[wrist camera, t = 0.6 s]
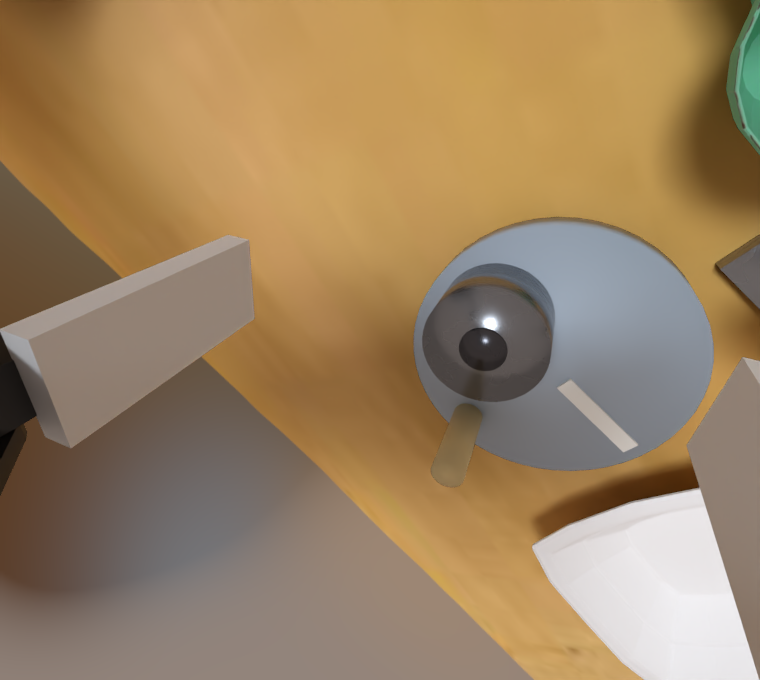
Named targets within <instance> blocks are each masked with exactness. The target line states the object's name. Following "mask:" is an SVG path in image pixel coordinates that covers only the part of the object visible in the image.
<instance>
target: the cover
mask: <svg viewBox="0 0 760 680" xmlns="http://www.w3.org/2000/svg"><path fill="white" fill-rule="evenodd" d="M554 324H555V310H554V305H553V302H552V299H551V297H550V295H549V293H548V291H547V290H546V288H545V287H544V285H543V284H542V283H541V282H540V281H539V280H538V279H537V278H536V277H534V276H533V275H532V274H530V273H529V272H527V271H525V270H523V269H521V268H518V267H515V266H512V265H508V264H501V263H489V264H483V265H479V266H476V267H473V268H471V269H468V270H466V271H465V272H463V273H462V274H460V275H459V276H458V277H457V278H456V279H455V280H454V281H453V282H452V283H451V284H450V286H449V287H448V289H447V290H446V292H445V293H444V295H443V296H442V297H441V299H440V300H439V302H438V303H437V305H436V306H435V308H434V309H433V311H432V312H431V313H430V315H429V316H428V318H427V320H426V323H425V326H424V329H423V335H422V346H423V352H424V356H425V359H426V361H427V363H428V365H429V367H430V369H431V370H432V372H433V373H434V374H435V376H436V377H437V378H438V379H439V380H440V381H441V382H442V383H443V384H444V385H446V386H447V387H448V388H450V389H451V390H453V391H454V392H456V393H458V394H460V395H462V396H465V397H467V398H470V399H473V400H478V401H483V402H501V401H508V400H512V399H515V398H517V397H520V396H522V395H524V394H526V393H528V392H529V391H530V390H532V389H533V388H534V387H535V386H536V385H537V384H538V383H539V382H540V381H541V380H542V378H543V377H544V375H545V373H546V372H547V370H548V367H549V364H550V358H551V351H552V342H553V333H554Z"/></svg>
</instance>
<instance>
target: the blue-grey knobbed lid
mask: <svg viewBox="0 0 760 680" xmlns="http://www.w3.org/2000/svg"><path fill="white" fill-rule="evenodd" d="M489 263H501V264H508V265H512V266H515V267H518V268H521V269H523V270H525V271H527V272H529V273H530V274H532V275H533V276H534V277H536V278H537V279H538V280H539V281H540V282H541V283H542V284H543V285H544V287H545V288H546V290H547V291H548V293H549V295H550V297H551V299H552V302H553V305H554V310H555V324H554V333H553V342H552V351H551V358H550V364H549V367H548V370H547V372H546V373H545V375H544V377H543V378H542V380H541V381H540V382H539V383H538V384H537V385H536V386H535V387H534V388H533V389H532V390H530V391H529V392H528V393H526V394H524V395H522V396H520V397H517V398H515V399H512V400H508V401H501V402H483V401H478V400H473V399H470V398H467V397H465V396H462V395H460V394H458V393H456V392H454V391H453V390H451V389H450V388H448V387H447V386H446V385H444V384H443V383H442V382H441V381H440V380H439V379H438V378H437V377H436V376H435V374H434V373H433V372H432V370H431V369H430V367H429V365H428V363H427V361H426V359H425V356H424V352H423V346H422V335H423V329H424V326H425V323H426V320H427V318H428V316H429V315H430V313H431V312H432V311H433V309H434V308H435V306H436V305H437V303H438V302H439V300H440V299H441V297H442V296H443V295H444V293H445V292H446V290H447V289H448V287H449V286H450V284H451V283H452V282H453V281H454V280H455V279H456V278H457V277H458V276H459V275H460V274H462V273H463V272H465V271H466V270H468V269H471V268H473V267H476V266H479V265H483V264H489ZM414 356H415V363H416V367H417V371H418V374H419V378H420V380H421V383H422V385H423V387H424V390H425V392H426V393H427V395H428V397H429V399H430V400H431V402H432V404H433V405H434V406H435V408H436V409H437V410H438V412H439V413H440V414H441V415H442V417H443V418H444V419H445V420H446V421H447V422H448V423H449V424H448V427H447V429H446V432H445V434H444V437H443V439H442V442H441V444H440V447H439V449H438V452H437V454H436V457H435V459H434V462H433V464H432V467H431V474H432V476H433V478H434V479H435V480H436V481H437V482H438V483H440V484H442V485H444V486H447V487H457V486H460V485H461V484H462V483H463V481H464V478H465V475H466V471H467V468H468V465H469V462H470V458H471V455H472V452H473V448H474V445H475V444H476V445H477V446H479V447H481V448H483V449H484V450H486V451H488V452H490V453H492V454H495V455H497V456H499V457H501V458H504V459H506V460H509V461H513V462H516V463H519V464H522V465H527V466H531V467H535V468H542V469H549V470H563V471H577V470H591V469H597V468H604V467H609V466H612V465H616V464H620V463H624V462H626V461H629V460H632V459H634V458H637V457H639V456H642V455H643V454H645V453H647V452H649V451H651V450H653V449H655V448H657V447H658V446H660V445H661V444H662V443H664V442H665V441H667V440H668V439H670V438H671V437H672V436H673V435H674V434H675V433H677V432H678V431H679V430H680V429H681V428H682V427H683V426H684V425H685V424H686V423H687V421H688V420H689V419H690V418H691V416H692V415H693V414H694V413H695V411H696V410H697V408H698V406H699V404H700V403H701V401H702V399H703V398H704V395H705V393H706V390H707V387H708V385H709V382H710V379H711V373H712V368H713V362H714V347H713V339H712V333H711V328H710V324H709V321H708V319H707V316H706V314H705V311H704V308H703V306H702V305H701V303H700V301H699V299H698V298H697V296H696V294H695V293H694V291H693V289H692V288H691V286H690V284H689V283H688V281H687V279H686V278H685V276H684V275H683V274H682V272H681V271H680V270H679V269H678V268H677V266H676V265H675V264H674V263H673V262H672V261H671V260H670V259H669V258H668V257H667V256H666V255H664V254H663V253H662V252H661V251H660V250H659V249H657V248H656V247H655V246H653V245H652V244H650V243H648V242H647V241H645V240H644V239H642V238H641V237H639V236H637V235H635V234H632V233H630V232H628V231H626V230H624V229H621V228H619V227H616V226H613V225H609V224H606V223H603V222H599V221H594V220H588V219H582V218H569V217H551V218H539V219H532V220H528V221H523V222H518V223H514V224H512V225H509V226H506V227H503V228H500V229H497V230H495V231H493V232H491V233H489V234H487V235H485V236H483V237H481V238H480V239H478V240H477V241H475V242H474V243H472V244H471V245H469V246H468V247H466V248H465V249H464V250H463V251H462V252H460V253H459V254H458V255H457V256H456V257H455V258H454V259H453V260H452V261H451V262H450V263H449V264H448V266H447V267H446V268H445V269H444V270H443V271H442V273H441V274H440V275H439V277H438V278H437V279H436V280H435V282H434V283H433V285H432V286H431V288H430V289H429V291H428V293H427V294H426V296H425V298H424V300H423V303H422V305H421V307H420V309H419V313H418V316H417V320H416V324H415V331H414Z"/></svg>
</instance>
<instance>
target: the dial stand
mask: <svg viewBox="0 0 760 680" xmlns="http://www.w3.org/2000/svg"><path fill="white" fill-rule="evenodd" d="M716 265H717V266H718V267H719V268H720V270H721V271H722V272H723V273H724V274H725V275H726V276H727V277H728V278H729V279H730V280H731V281H732V282H733V283H734V284H735V285H736V286H737V287H738V288H739V289H740V290H741V291H742V292H743V293H744V294H745V295H746V296H747V297H748V298H749V299H750V300H751V301H752V302H753V303H754V304H755V305H756V306H757V307H758V308H759V309H760V235H758V236H757V237H755V238H753V239H752V240H750V241H749V242H747V243H746V244H744V245H743V246H741V247H740V248H738V249H737V250H735V251H734V252H732V253H731V254H729V255H727V256H726V257H724V258H723V259H721V260H720V261H718V262H717V263H716Z"/></svg>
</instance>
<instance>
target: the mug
mask: <svg viewBox="0 0 760 680" xmlns="http://www.w3.org/2000/svg"><path fill="white" fill-rule="evenodd" d="M751 4H752V8H751V10H750V12H749V15H748V17H747V19H746V21H745V23H744V25H743V27H742V30H741V32H740V34H739V37H738V39H737V41H736V43H735V46H734V48H733V50H732V53H731V55H730V62H729V70H728V77H727V85H726V92H727V96H728V100H729V104H730V108H731V112H732V116H733V119H734V121H735V123H736V125H737V128H738V129H739V130H740V132H741V133H742V134H743V135H744V136H745V138H746V139H747V140H748V141H749V143H750V144H751V145H752V146H753V148H754V149H755V150H756V151H757V153H758V154H759V155H760V0H751Z"/></svg>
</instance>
